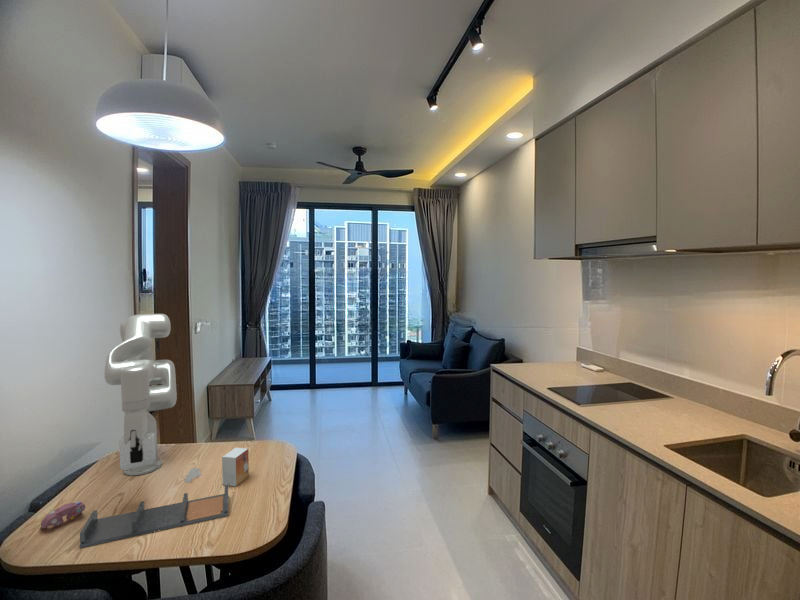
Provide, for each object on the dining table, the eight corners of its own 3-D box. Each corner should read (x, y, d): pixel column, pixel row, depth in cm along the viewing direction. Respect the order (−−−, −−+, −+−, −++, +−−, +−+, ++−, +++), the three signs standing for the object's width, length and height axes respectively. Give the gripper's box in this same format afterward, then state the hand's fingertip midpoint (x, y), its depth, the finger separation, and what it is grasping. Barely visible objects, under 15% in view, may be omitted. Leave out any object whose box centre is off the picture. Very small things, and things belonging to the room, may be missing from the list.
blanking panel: (123, 463, 127) (122, 436, 126) (155, 458, 130) (154, 432, 129) (120, 469, 123) (119, 441, 122) (153, 464, 126) (152, 437, 126)
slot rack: (94, 522, 117) (93, 509, 117) (228, 495, 132) (228, 484, 131) (79, 548, 106) (79, 534, 106) (227, 515, 121) (227, 503, 120)
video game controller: (44, 537, 113) (47, 520, 111) (38, 525, 115) (41, 508, 113) (85, 519, 121) (89, 503, 119) (79, 509, 123) (82, 492, 121)
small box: (236, 487, 137) (235, 458, 137) (222, 485, 138) (221, 456, 138) (249, 475, 145) (248, 448, 145) (235, 474, 146) (235, 446, 146)
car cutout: (193, 474, 147) (192, 462, 147) (207, 477, 145) (207, 465, 145) (157, 495, 133) (157, 482, 132) (172, 499, 131) (172, 486, 130)
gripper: (128, 397, 131) (130, 449, 133) (114, 414, 116) (117, 473, 117) (154, 394, 134) (156, 445, 135) (144, 411, 119) (146, 469, 120)
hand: (138, 458), depth 126 cm, fingers closed on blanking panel, 4 cm apart
